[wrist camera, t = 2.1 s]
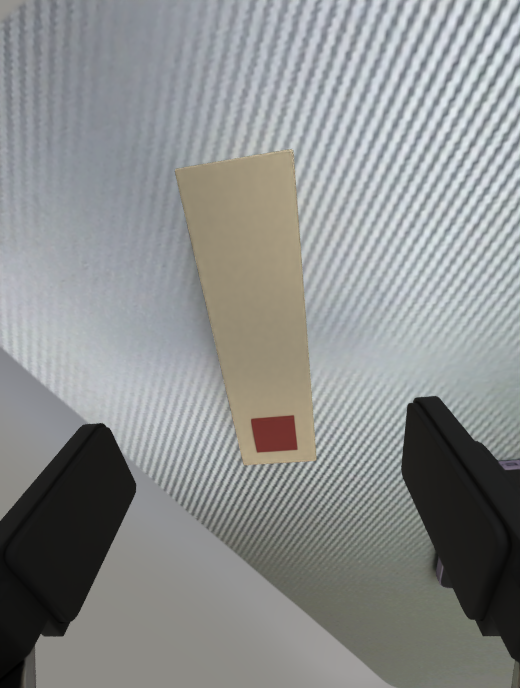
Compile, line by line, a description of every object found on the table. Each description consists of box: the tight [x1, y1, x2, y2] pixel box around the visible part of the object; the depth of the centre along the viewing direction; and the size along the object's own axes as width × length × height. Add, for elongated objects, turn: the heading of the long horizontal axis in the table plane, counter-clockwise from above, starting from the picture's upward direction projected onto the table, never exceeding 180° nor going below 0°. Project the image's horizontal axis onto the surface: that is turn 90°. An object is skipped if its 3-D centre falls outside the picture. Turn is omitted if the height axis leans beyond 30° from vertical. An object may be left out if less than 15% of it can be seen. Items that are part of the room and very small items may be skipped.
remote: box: [175, 149, 316, 465], centre depth 16 cm, size 16×4×3 cm, turn 8°
